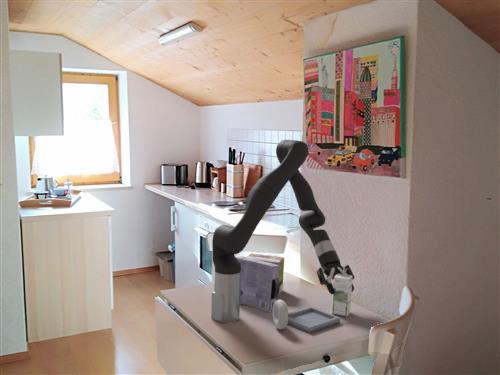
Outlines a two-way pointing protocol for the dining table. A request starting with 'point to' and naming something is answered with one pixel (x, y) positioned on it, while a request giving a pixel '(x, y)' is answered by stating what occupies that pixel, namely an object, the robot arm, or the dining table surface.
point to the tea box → (272, 260)
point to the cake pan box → (258, 283)
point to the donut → (280, 314)
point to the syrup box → (342, 294)
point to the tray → (311, 319)
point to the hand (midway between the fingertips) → (342, 292)
